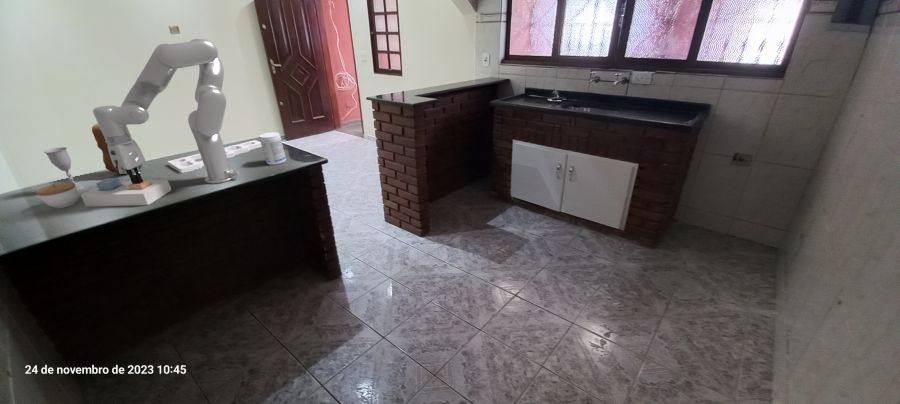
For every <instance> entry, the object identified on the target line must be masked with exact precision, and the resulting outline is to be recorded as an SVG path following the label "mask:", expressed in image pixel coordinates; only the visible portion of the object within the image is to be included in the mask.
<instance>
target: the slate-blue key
mask: <svg viewBox="0 0 900 404" xmlns="http://www.w3.org/2000/svg"><path fill="white" fill-rule="evenodd" d="M121 181H122V180H121V179H120V178H119V177H118V178H117V177H114V178H113V177H111V178H109V177H107V178H104V179H102V180H101V181H98V182H96V183H95V185H96V187H98V188H99V190H113V189H115V188H117V187H119V186H121V185H122V184H121Z"/></svg>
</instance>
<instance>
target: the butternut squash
mask: <svg viewBox="0 0 900 404" xmlns="http://www.w3.org/2000/svg"><path fill="white" fill-rule="evenodd" d="M91 132H92V134H93V137H94V140H95V141H96V144H97V145H96V146H97V148H98V149H99V150H101V152H102V160H103V161H102V162H103V164H104V167H105V169H106V170H108V171H109V172H111V173H113V174H118V175H121V174H120V173H119V170H117V169H116V168H115V167H114V165H113V163H112V160H111V158H110V155H109V151H108V144H107V143H106V142H105V141H106V140H105V138H104V135H103V133H102V131H101V129H100V127H99V124H98V122H97V123H95V124H93V126H92V127H91ZM142 166H143V165H142ZM142 166H141V167H140V169H141V168H142Z"/></svg>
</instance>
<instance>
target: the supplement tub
mask: <svg viewBox="0 0 900 404" xmlns="http://www.w3.org/2000/svg"><path fill="white" fill-rule="evenodd" d="M259 142H261V145H262V147H261V149H262V152H263V155H264V158H265V159H264V160H265V163H266V164H267V165H271V166H272V165H273V166H274V165H281V164H283V163H285V162H286V161H287V156H286V153H285V150H284V145H283V141H282V138H281V134H280V133H279V132H276V131H274V132H273V131H271V132H265V133H262V134H260V135H259Z"/></svg>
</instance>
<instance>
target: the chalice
mask: <svg viewBox="0 0 900 404" xmlns="http://www.w3.org/2000/svg"><path fill="white" fill-rule="evenodd" d="M43 153H44V154H45V155H46V156H47V157H48V159H49V161H50V163H51V164H52V165H53V166H55V167H56V168H58V169H59V170H60V171H61V172H65V175H66V176H67V177H68V180H69V181H70V182H73V183H75V185H76V188H77V190H78V191H79V189H80V190H82V188H83V189H84V188H85V186H83V185H82V184H81V183H80V182H75V180H74V177H72V174H71V173H70V172H69V170H71V167H72V162H71V161H72V160H71V157H70V154H69V153H68V151H67V147H65V146H64V147H61V146H60V147H53V148H47V149H46V150H44V151H43Z"/></svg>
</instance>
